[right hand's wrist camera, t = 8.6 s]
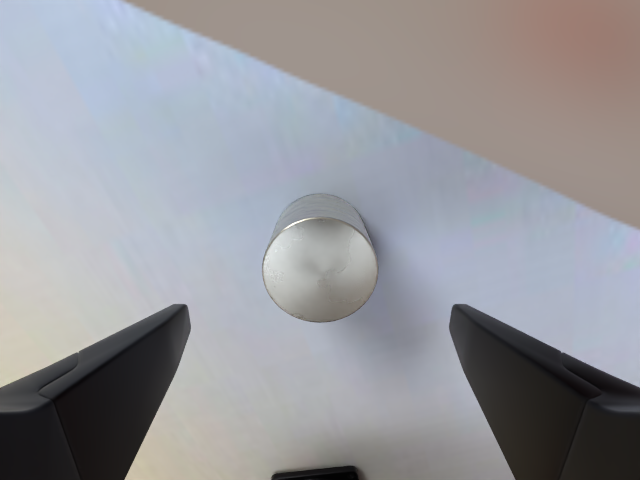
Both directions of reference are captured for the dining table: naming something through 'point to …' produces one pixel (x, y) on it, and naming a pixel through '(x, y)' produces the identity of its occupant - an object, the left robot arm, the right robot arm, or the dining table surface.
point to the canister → (320, 260)
